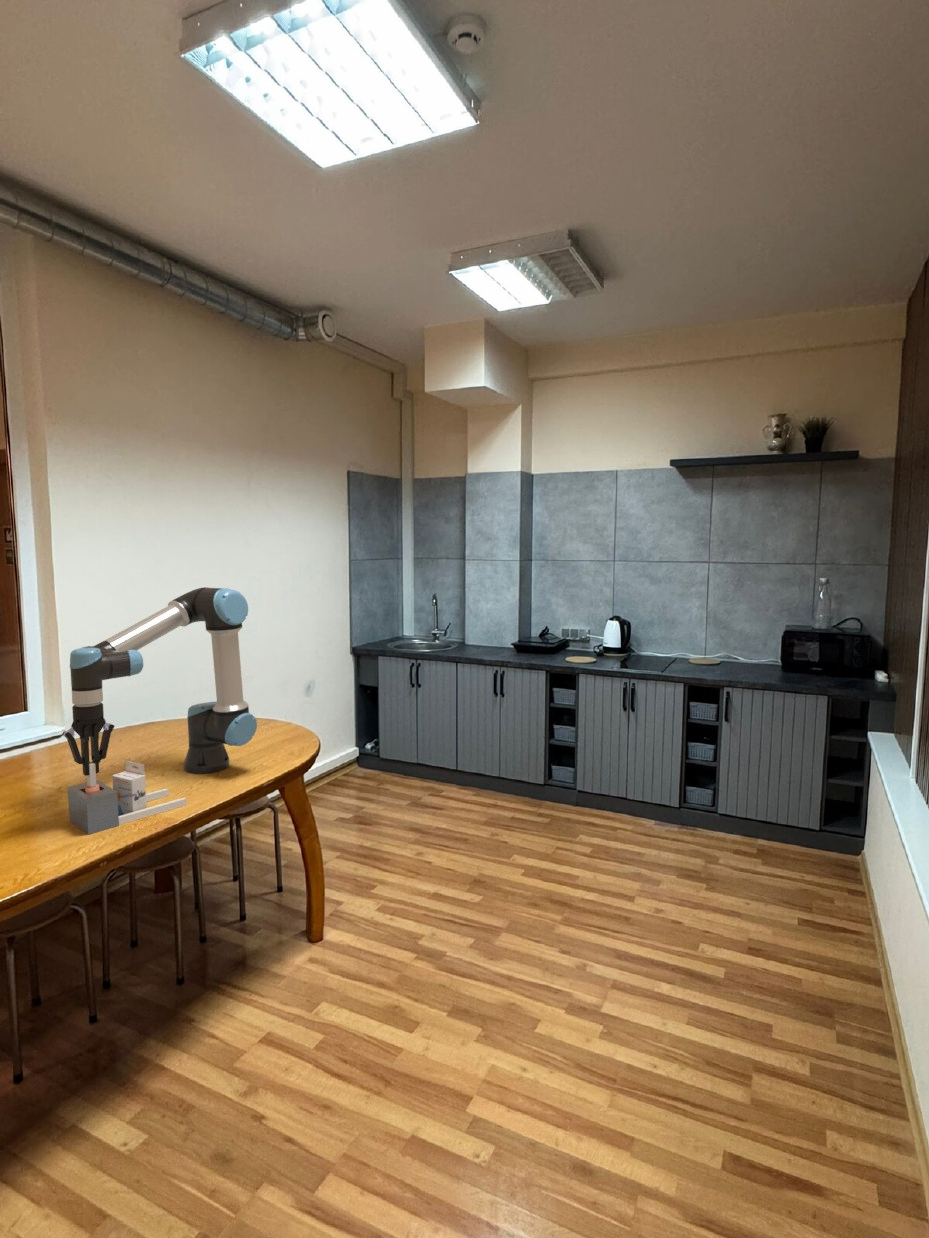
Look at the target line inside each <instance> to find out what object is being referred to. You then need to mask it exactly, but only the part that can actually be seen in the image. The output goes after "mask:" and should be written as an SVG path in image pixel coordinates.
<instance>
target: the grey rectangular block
mask: <svg viewBox="0 0 929 1238" xmlns="http://www.w3.org/2000/svg"><path fill="white" fill-rule="evenodd" d="M96 784H99V789H100V791H96V792H92V793H88V794H86V793H85V786H87V781H86V782H83V783H78V784H74V785H70V786H67V801H68V803H67V804H68V805H67V806H68V816H69V817H68V818H69V820H68V821H69V822H71V823H72V824H73V825H74V826H76V827H77V828H78V829H80V830H81V831H82V832H84V833H86V834H87V835H88V836H89V835H93V834H97V833H99V832H103V831H105V830H106V831H107V830H109V829H112V828H116V827H119V826H120V825H119V816H120V814H118V794H117V791H116V790H114V789H113V787H111V786H109V785H107V784H105V782H102V781H100V780H99V779H96Z"/></svg>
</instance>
